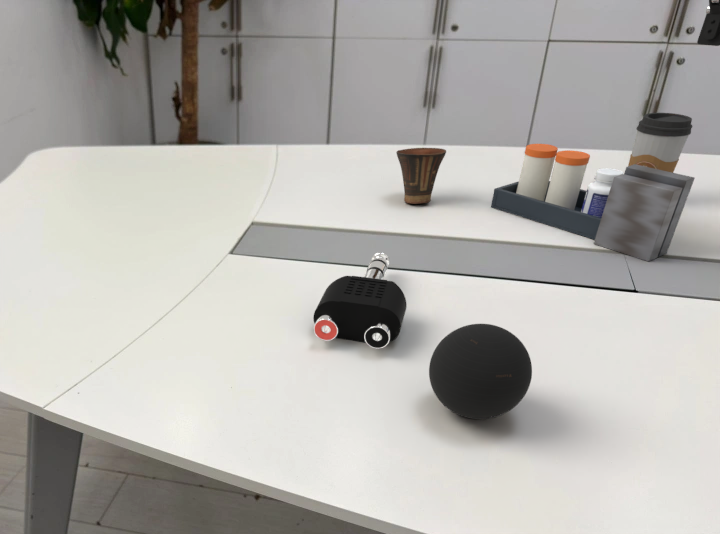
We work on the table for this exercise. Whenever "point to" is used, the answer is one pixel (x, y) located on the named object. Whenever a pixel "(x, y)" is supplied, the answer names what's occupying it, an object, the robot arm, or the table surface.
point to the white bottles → (563, 176)
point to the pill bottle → (599, 191)
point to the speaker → (480, 371)
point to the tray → (546, 211)
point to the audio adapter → (362, 307)
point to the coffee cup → (660, 140)
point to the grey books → (643, 211)
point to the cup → (419, 172)
